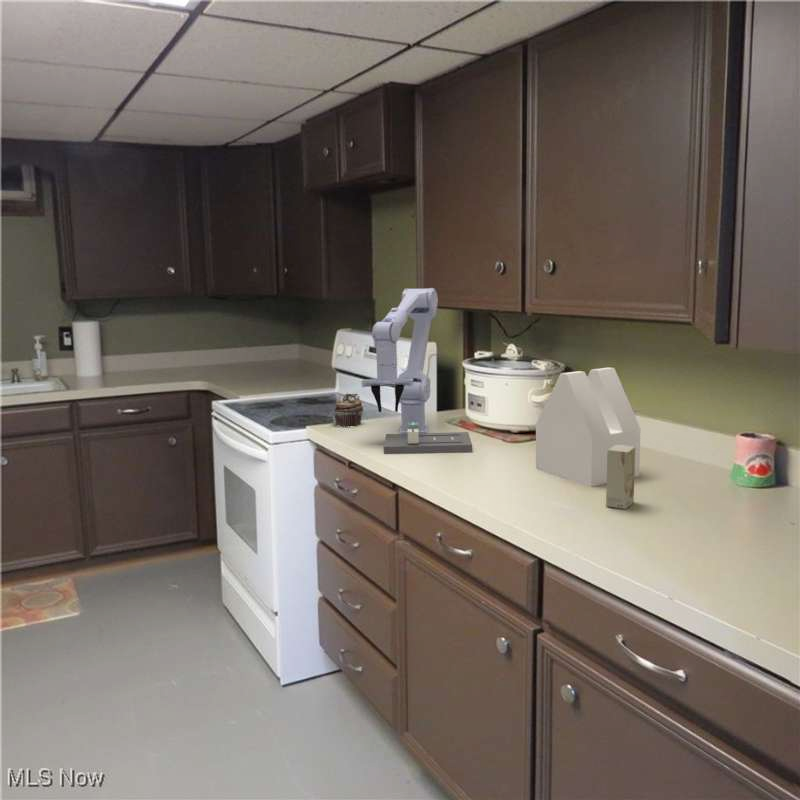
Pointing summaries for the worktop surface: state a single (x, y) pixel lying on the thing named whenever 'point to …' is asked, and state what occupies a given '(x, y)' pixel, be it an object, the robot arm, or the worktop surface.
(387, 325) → the robot arm
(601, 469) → the grey house shaped holder
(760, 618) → the worktop surface
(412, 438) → the ivory fader
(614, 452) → the skincare box
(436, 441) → the console
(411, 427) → the teal fader
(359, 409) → the cupcake
